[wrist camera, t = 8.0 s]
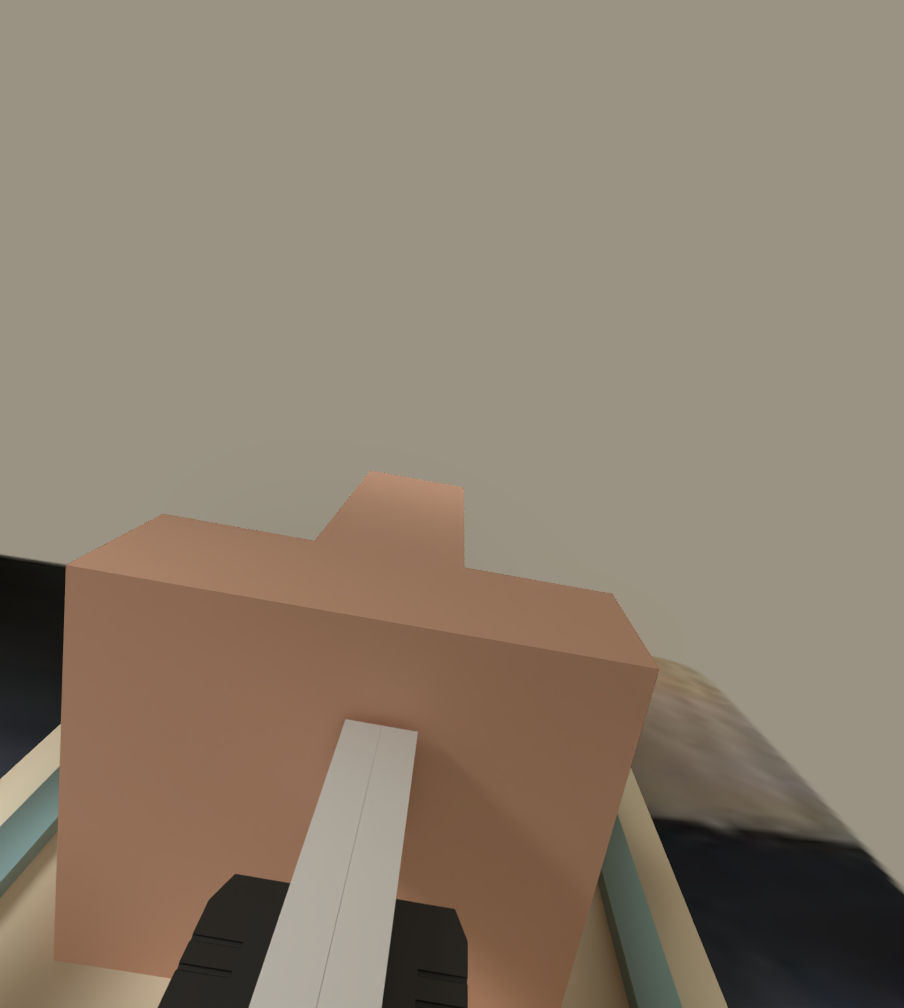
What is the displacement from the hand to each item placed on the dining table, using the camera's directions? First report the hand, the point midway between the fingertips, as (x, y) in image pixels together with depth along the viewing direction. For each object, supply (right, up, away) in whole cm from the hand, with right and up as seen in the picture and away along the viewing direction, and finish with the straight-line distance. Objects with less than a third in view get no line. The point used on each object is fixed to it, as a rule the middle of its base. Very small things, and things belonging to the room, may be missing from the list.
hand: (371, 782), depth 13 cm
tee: (-2, -4, +9) cm, 10 cm away
